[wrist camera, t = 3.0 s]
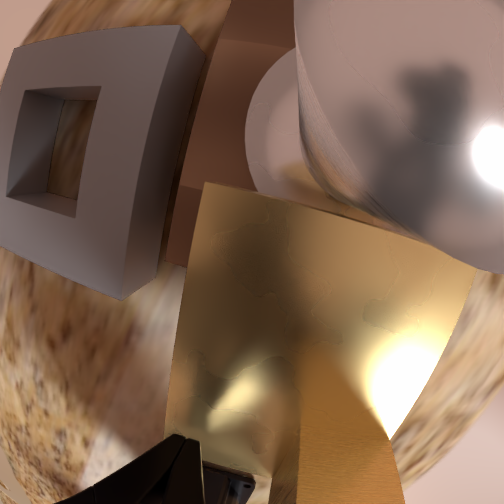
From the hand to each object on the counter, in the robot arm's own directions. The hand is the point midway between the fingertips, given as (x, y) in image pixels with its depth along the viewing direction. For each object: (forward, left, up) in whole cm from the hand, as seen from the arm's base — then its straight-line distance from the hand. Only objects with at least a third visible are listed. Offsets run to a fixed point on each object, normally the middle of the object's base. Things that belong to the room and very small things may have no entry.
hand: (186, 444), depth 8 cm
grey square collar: (+7, +9, -6) cm, 13 cm away
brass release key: (+3, -3, -2) cm, 4 cm away
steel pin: (+9, -3, -6) cm, 11 cm away
